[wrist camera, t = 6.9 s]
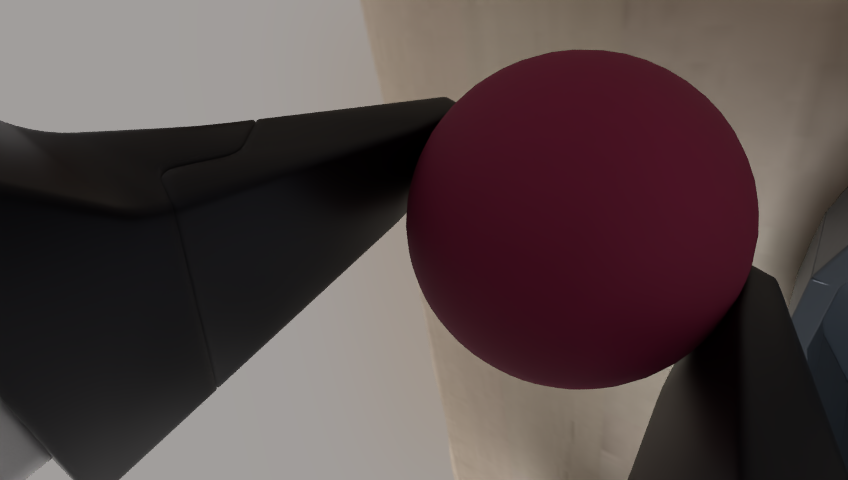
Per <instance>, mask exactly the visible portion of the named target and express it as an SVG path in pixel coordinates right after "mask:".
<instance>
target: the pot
mask: <svg viewBox="0 0 848 480" xmlns="http://www.w3.org/2000/svg"><path fill="white" fill-rule="evenodd" d="M788 311H789V313H790V316H791V319H792V322H793V324H794V327H795V330H796V332H797V335H798V338H799V340H800V343H801V346H802V349H803V351H804V354H805V357H806V359H807V362H808V365H809V367H810V370H811V373H812V376H813V378H814V381H815V384H816V386H817V389H818V392H819V394H820V397H821V400H822V402H823V405H824V408H825V411H826V413H827V416H828V419H829V421H830V424H831V427H832V429H833V432H834V435H835V438H836V440H837V443H838V446H839V448H840V451H841V454H842V456H843V459H844V462H845V465H846V467H847V470H848V187H847V188H846V190H845V191H844V192H843V193H842V194H841V195H840V196H839V197H838V199H837V200H836V201H835V203H834V204H833V205H832V206H831V207H830V208H829V209H828V211H827V212H826V213H825V214H824V217H823V219H822V221H821V223H820V225H819V227H818V229H817V231H816V233H815V235H814V237H813V239H812V241H811V243H810V246H809V248H808V251H807V254H806V256H805V258H804V260H803V262H802V264H801V267H800V269H799V271H798V274H797V278H796V281H795V285H794V289H793V293H792V297H791V301H790V304H789V308H788Z"/></svg>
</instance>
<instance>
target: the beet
mask: <svg viewBox="0 0 848 480" xmlns="http://www.w3.org/2000/svg"><path fill="white" fill-rule="evenodd" d="M758 221H759V211H758V199H757V192H756V186H755V180H754V176H753V173H752V170H751V167H750V164H749V161H748V158H747V156H746V154H745V152H744V149H743V147H742V145H741V144H740V142H739V140H738V138H737V136H736V134H735V132H734V130H733V129H732V127H731V126H730V125H729V123H728V122H727V120H726V119H725V117H724V116H723V115H722V113H721V112H720V111H719V110H718V109H717V108H716V107H715V106H714V105H713V104H712V103H711V102H710V100H709V99H708V98H707V97H706V96H705V95H703V94H702V93H701V92H700V91H698V90H697V89H696V88H695V87H693V86H692V85H691V84H690V83H688V82H687V81H686V80H684V79H682V78H681V77H679V76H677V75H676V74H674V73H672V72H671V71H669V70H667V69H665V68H663V67H661V66H658V65H656V64H654V63H652V62H649V61H647V60H644V59H641V58H637V57H634V56H631V55H627V54H623V53H616V52H610V51H604V50H566V51H558V52H551V53H547V54H543V55H539V56H536V57H532V58H528V59H525V60H521V61H519V62H517V63H514V64H512V65H510V66H507V67H505V68H503V69H501V70H499V71H498V72H496V73H494V74H492V75H491V76H489V77H488V78H486V79H484V80H483V81H481V82H480V83H478V84H477V85H475V86H474V87H473V88H472V89H471V90H470V91H468V92H467V93H466V94H465V95H464V96H463V97H462V98H461V99H460V100H458V101H457V102H456V103H455V104H454V105H453V106H452V107H451V108H450V109H449V111H448V112H447V113H446V114H445V116H444V117H443V118H442V119H441V121H440V122H439V123H438V125H437V126H436V127H435V129H434V130H433V131H432V133H431V135H430V137H429V139H428V141H427V142H426V144H425V146H424V148H423V150H422V152H421V154H420V156H419V159H418V162H417V164H416V167H415V170H414V173H413V177H412V181H411V185H410V189H409V195H408V201H407V219H406V230H407V239H408V246H409V253H410V258H411V262H412V266H413V269H414V272H415V275H416V277H417V280H418V283H419V285H420V288H421V290H422V292H423V294H424V296H425V298H426V300H427V302H428V304H429V305H430V307H431V309H432V310H433V312H434V313H435V314H436V316H437V317H438V319H439V320H440V321H441V322H442V324H443V325H444V326H445V327H446V328H447V330H448V331H449V332H450V333H451V334H452V335H453V336H454V337H455V338H456V339H457V340H458V341H459V342H460V343H461V344H462V345H463V346H464V347H465V348H467V349H468V350H469V351H470V352H472V353H473V354H474V355H476V356H477V357H479V358H480V359H482V360H483V361H485V362H486V363H488V364H490V365H491V366H493V367H495V368H497V369H498V370H501V371H503V372H505V373H507V374H509V375H511V376H514V377H516V378H519V379H521V380H524V381H527V382H531V383H534V384H539V385H544V386H549V387H555V388H563V389H599V388H607V387H614V386H619V385H622V384H626V383H630V382H633V381H636V380H640V379H643V378H646V377H649V376H651V375H653V374H655V373H657V372H659V371H661V370H663V369H665V368H667V367H669V366H671V365H673V364H675V363H677V362H678V361H679V360H681V359H682V358H684V357H685V356H687V355H688V354H689V353H691V352H692V351H693V350H694V349H696V348H697V347H698V346H699V345H701V344H702V343H703V342H704V341H705V340H706V339H707V338H708V337H709V336H710V335H711V334H712V333H713V332H714V331H715V330H716V328H717V327H718V325H719V324H720V323H721V321H722V320H723V319H724V317H725V316H726V314H727V313H728V312H729V310H730V309H731V307H732V306H733V305H734V303H735V301H736V300H737V298H738V296H739V294H740V292H741V290H742V288H743V286H744V284H745V282H746V280H747V277H748V275H749V272H750V270H751V266H752V262H753V257H754V253H755V248H756V243H757V238H758Z"/></svg>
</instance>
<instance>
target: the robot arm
mask: <svg viewBox="0 0 848 480" xmlns="http://www.w3.org/2000/svg"><path fill="white" fill-rule="evenodd" d="M455 103H456V102H454V101H453V100H451V99H449V98H447V97H440V98H431V99H423V100H415V101H407V102H398V103H390V104H382V105H374V106H365V107H357V108H349V109H342V110H333V111H324V112H315V113H307V114H300V115H291V116H282V117H275V118H266V119H259V120H257V121H256V122H255V121H254V120H248V121H240V122H232V123H223V124H213V125H203V126H191V127H175V128H159V129H139V130H120V131H101V132H100V131H99V132H80V133H56V132H44V131H38V130H32V129H27V128H23V127H19V126H14V125H12V124H9V123H5V122H3V121H0V480H25V479H26V478H28V477H29V476H30V475H31V474H32V473H34V472H35V471H36V470H38V469H39V468H40V467H41V466H43V465H44V464H45V463H46V462H47V461H49V460H50V459H51V458H53V460H54V461H55V462H56V463H57V464H58V465H59V466H60V467H61V468H62V469H63V470H64V471H65V472H66V473H67V474H68V475H69V476H70V477H71V478H72V479H73V480H119V479H120V478H121V477H122V476H123V475H125V474H126V473H127V472H128V471H129V470H130V469H131V468H132V467H133V466H134V465H135V464H136V463H137V462H139V461H140V460H141V459H142V458H143V457H144V456H145V455H146V454H147V453H148V452H149V451H151V450H152V449H153V448H154V447H155V446H156V445H157V444H158V443H159V442H160V441H161V440H163V438H165V437H166V436H167V435H168V434H169V433H170V432H171V431H172V430H173V429H174V428H176V427H177V426H178V425H179V424H180V423H181V422H182V421H183V420H184V419H185V418H186V417H187V416H189V415H190V413H192V412H193V411H194V410H195V409H196V408H197V407H198V406H199V405H200V404H201V403H202V402H204V401H205V400H206V399H207V398H208V397H209V396H210V395H211V394H212V393H213V392H214V391H216V389H217V388H216V387H219V386H221V385H222V384H223V383H224V382H225V381H226V380H227V379H228V378H229V377H230V376H231V375H233V374H234V373H235V372H236V371H237V370H238V369H239V368H240V367H241V366H242V365H243V364H244V363H246V362H247V361H248V360H249V359H250V358H251V357H252V356H253V355H254V354H255V353H256V352H257V351H258V350H259V349H261V348H262V347H263V346H264V345H265V344H266V343H267V342H268V341H269V340H270V339H272V338H273V337H274V336H275V335H276V334H277V333H278V332H279V331H280V330H281V329H282V328H283V327H284V326H286V325H287V324H288V323H289V322H290V321H291V320H292V319H293V318H294V317H295V316H296V315H297V314H299V313H300V312H301V311H302V310H303V309H304V308H305V307H306V306H307V305H308V304H309V303H311V302H312V301H313V300H314V299H315V298H316V297H317V296H318V295H319V294H320V293H321V292H322V291H324V290H325V289H326V288H327V287H328V286H329V285H330V284H331V283H332V282H333V281H334V280H335V279H336V278H337V277H339V276H340V275H341V274H342V273H343V272H344V271H345V270H346V269H347V268H348V267H350V266H351V265H352V264H353V263H354V262H355V261H356V260H357V259H358V258H359V257H360V256H361V255H362V254H363V253H364V252H366V251H367V250H368V249H369V248H370V247H371V246H372V245H373V244H374V243H375V242H377V241H378V240H379V239H380V238H381V237H382V236H383V235H384V234H385V233H386V232H387V231H388V230H389V229H391V228H392V227H393V226H394V225H395V224H396V223H397V222H398V221H399V220H400V219H401V218H402V217H403V216H404V215H405V214H406V212H407V201H408V195H409V189H410V185H411V181H412V177H413V173H414V170H415V167H416V164H417V162H418V159H419V156H420V154H421V152H422V150H423V148H424V146H425V144H426V142H427V141H428V139H429V137H430V135H431V133H432V131H433V130H434V129H435V127H436V126H437V125H438V123H439V122H440V121H441V119H442V118H443V117H444V116H445V114H446V113H447V112H448V111H449V109H450V108H451V107H452V106H453V105H454V104H455ZM628 480H848V470H847V467H846V465H845V462H844V459H843V456H842V454H841V451H840V448H839V446H838V443H837V440H836V438H835V435H834V432H833V429H832V427H831V424H830V421H829V419H828V416H827V413H826V411H825V408H824V405H823V402H822V400H821V397H820V394H819V392H818V389H817V386H816V384H815V381H814V378H813V376H812V373H811V370H810V367H809V365H808V362H807V359H806V357H805V354H804V351H803V349H802V346H801V343H800V340H799V338H798V335H797V332H796V330H795V327H794V324H793V322H792V319H791V316H790V313H789V311H788V308H787V305H786V303H785V300H784V297H783V295H782V292H781V289H780V287H779V284H778V282H777V280H776V279H775V278H774V277H772V276H771V275H769V274H767V273H765V272H763V271H761V270H760V269H758V268H756V267H754V266H751V270H750V272H749V275H748V277H747V280H746V282H745V284H744V286H743V288H742V290H741V292H740V294H739V296H738V298H737V300H736V301H735V303H734V305H733V306H732V307H731V309H730V310H729V312H728V313H727V314H726V316H725V317H724V319H723V320H722V321H721V323H720V324H719V325H718V327H717V328H716V330H715V331H714V332H713V333H712V334H711V335H710V336H709V337H708V338H707V339H706V340H705V341H704V342H703V343H702V344H701V345H699V346H698V347H697V348H696V349H694V350H693V351H692V352H691V353H689V354H688V355H687V356H685V357H684V358H682V359H681V360H679V361H678V362H677V363H675V364H674V366H673V368H672V370H671V372H670V373H669V375H668V377H667V379H666V381H665V383H664V385H663V387H662V390H661V392H660V395H659V397H658V399H657V402H656V405H655V408H654V410H653V413H652V416H651V418H650V421H649V424H648V426H647V429H646V432H645V435H644V437H643V440H642V443H641V445H640V448H639V451H638V454H637V456H636V459H635V462H634V464H633V467H632V470H631V472H630V475H629V478H628Z"/></svg>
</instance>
